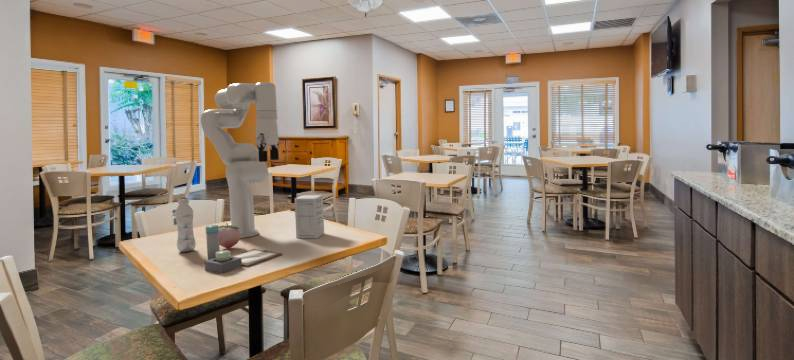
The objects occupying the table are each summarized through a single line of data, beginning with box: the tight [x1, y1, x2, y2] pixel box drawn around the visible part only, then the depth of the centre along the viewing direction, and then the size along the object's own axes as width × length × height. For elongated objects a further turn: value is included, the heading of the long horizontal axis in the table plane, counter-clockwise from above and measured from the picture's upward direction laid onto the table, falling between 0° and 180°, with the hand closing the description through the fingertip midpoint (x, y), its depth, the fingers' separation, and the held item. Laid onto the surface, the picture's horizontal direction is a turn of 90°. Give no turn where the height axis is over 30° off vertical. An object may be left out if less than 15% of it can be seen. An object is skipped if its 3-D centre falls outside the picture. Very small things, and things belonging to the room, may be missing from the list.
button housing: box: [204, 255, 243, 275], centre depth 150 cm, size 8×8×3 cm
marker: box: [205, 224, 221, 260], centre depth 159 cm, size 4×4×12 cm
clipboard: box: [232, 248, 283, 268], centre depth 161 cm, size 14×16×1 cm
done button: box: [216, 249, 231, 262], centre depth 149 cm, size 4×4×2 cm
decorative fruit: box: [218, 224, 241, 250], centre depth 174 cm, size 9×8×10 cm
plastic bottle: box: [174, 197, 197, 253], centre depth 170 cm, size 6×7×20 cm
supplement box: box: [294, 194, 325, 239], centre depth 192 cm, size 10×9×17 cm
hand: (269, 160), depth 175 cm, fingers open, 9 cm apart
